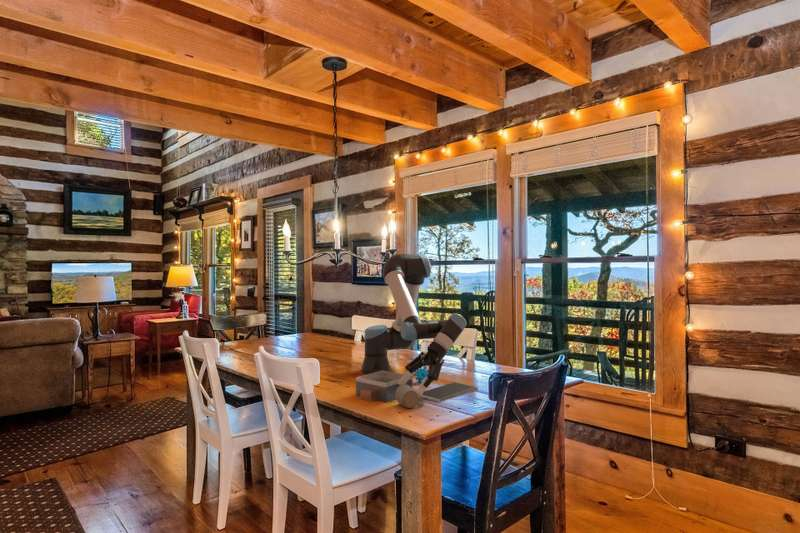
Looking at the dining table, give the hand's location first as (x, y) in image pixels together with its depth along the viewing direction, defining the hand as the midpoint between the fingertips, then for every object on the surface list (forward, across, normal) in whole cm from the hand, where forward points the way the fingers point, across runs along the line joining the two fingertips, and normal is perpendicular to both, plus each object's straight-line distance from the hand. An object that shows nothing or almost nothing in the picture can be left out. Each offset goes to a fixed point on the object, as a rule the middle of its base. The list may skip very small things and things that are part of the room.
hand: (408, 389), depth 183 cm
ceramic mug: (+4, 0, -6) cm, 7 cm away
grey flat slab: (-12, +7, -22) cm, 26 cm away
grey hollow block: (+5, +19, -4) cm, 21 cm away
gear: (-13, +27, -23) cm, 38 cm away
